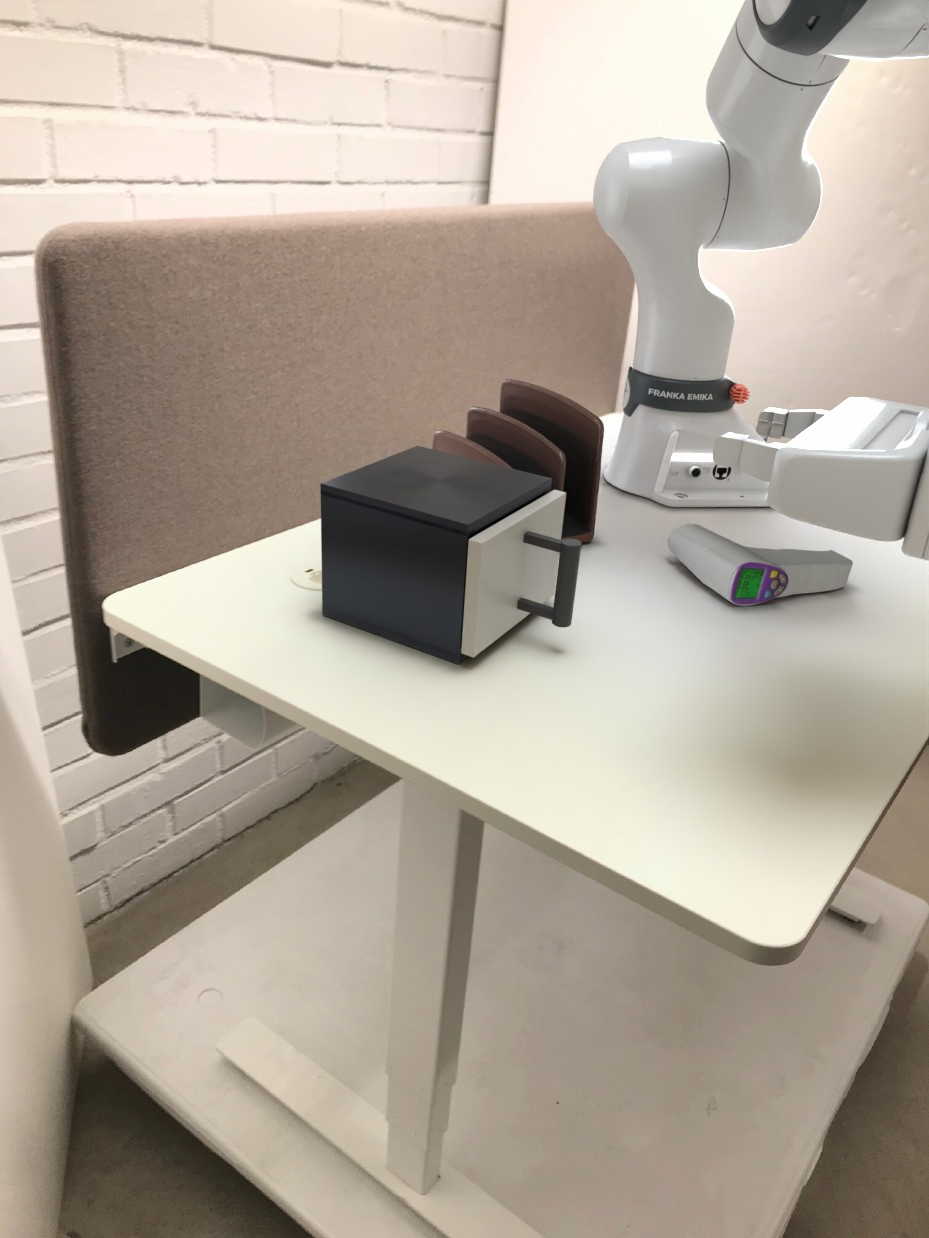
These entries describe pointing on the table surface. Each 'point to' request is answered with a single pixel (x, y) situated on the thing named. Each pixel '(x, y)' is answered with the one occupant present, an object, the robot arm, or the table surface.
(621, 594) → the table surface
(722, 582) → the infrared thermometer
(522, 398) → the letter holder
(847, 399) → the robot arm
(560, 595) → the open pull-out drawer
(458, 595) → the cabinet
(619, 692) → the table surface
